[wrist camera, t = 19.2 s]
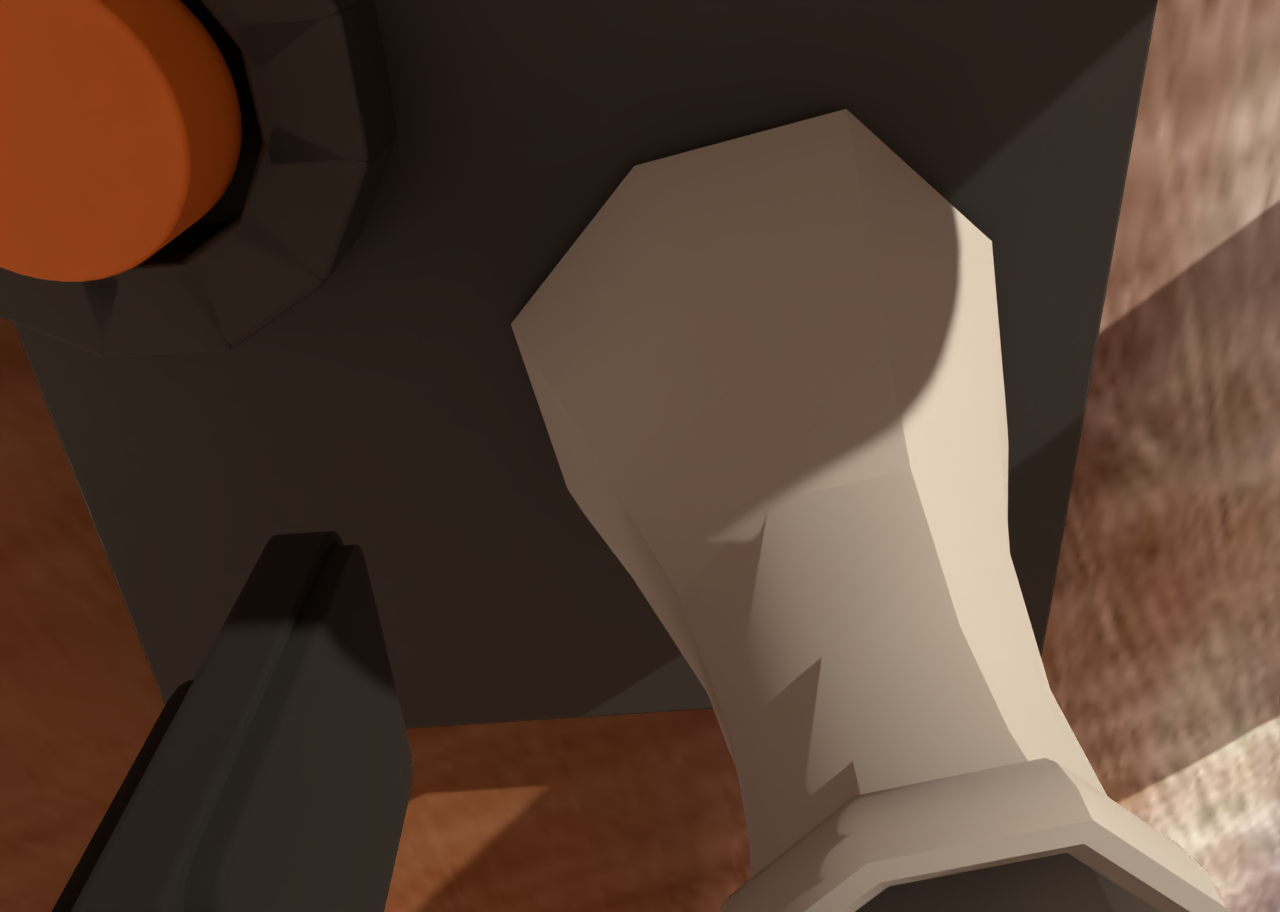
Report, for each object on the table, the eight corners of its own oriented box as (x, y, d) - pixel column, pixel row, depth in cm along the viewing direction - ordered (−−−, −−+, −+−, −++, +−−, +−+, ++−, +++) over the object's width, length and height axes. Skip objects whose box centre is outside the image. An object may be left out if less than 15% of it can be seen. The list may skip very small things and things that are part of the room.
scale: (199, 699, 20) (136, 823, 17) (-125, -171, 12) (-320, -191, 10) (1013, 646, 19) (1077, 762, 17) (1158, -264, 12) (1305, -309, 10)
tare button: (18, 245, 12) (-66, 293, 11) (-89, -40, 11) (-206, -31, 9) (273, 227, 12) (224, 274, 11) (200, -61, 11) (133, -55, 9)
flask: (1075, 423, 16) (1667, 1080, 7) (686, 626, 17) (763, 1354, 9) (872, 2, 13) (1469, 224, 4) (424, 300, 14) (136, 918, 6)
